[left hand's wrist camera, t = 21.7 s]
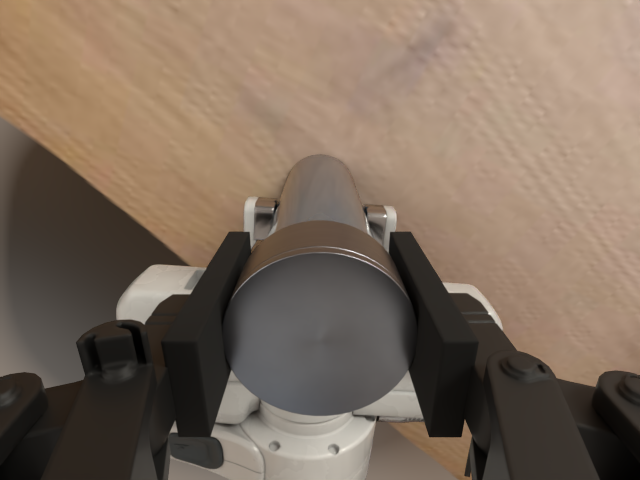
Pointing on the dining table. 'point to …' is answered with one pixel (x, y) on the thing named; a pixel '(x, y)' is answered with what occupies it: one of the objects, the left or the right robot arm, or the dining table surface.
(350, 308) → the lid
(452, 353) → the left robot arm
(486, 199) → the dining table surface
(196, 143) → the dining table surface
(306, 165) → the grey cylinder
